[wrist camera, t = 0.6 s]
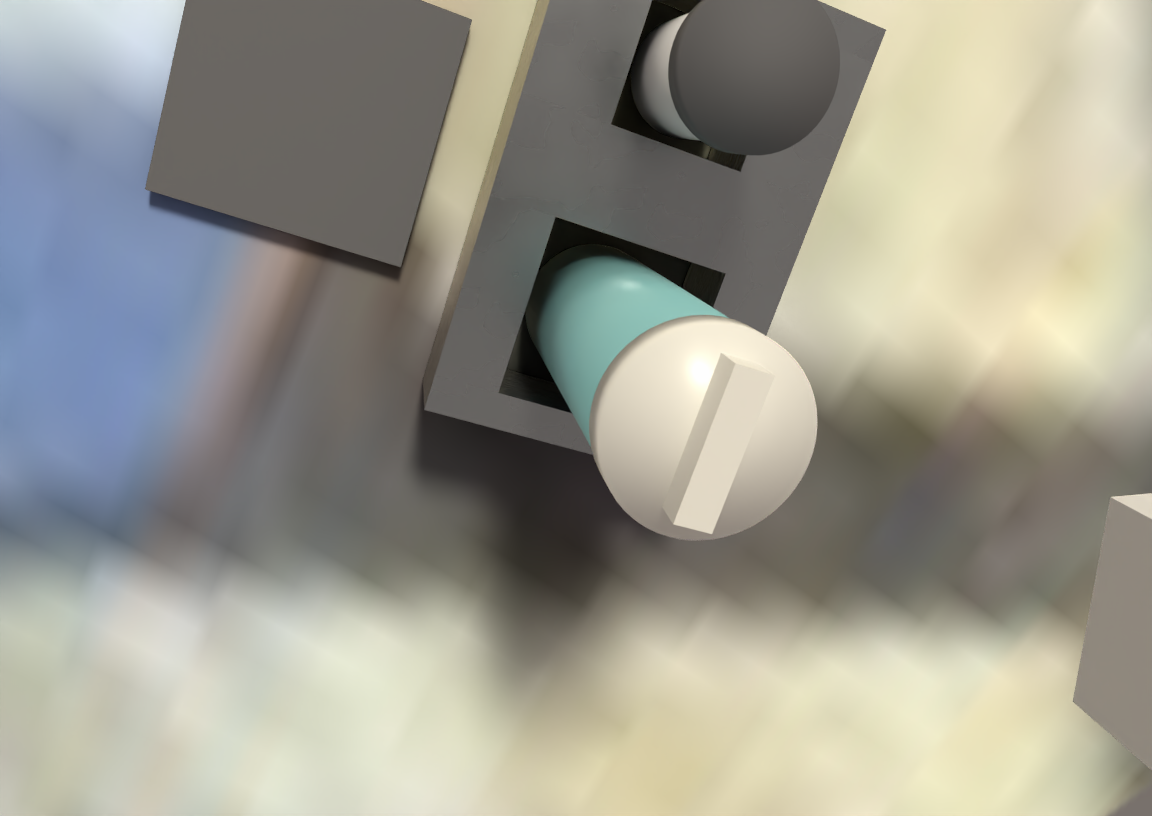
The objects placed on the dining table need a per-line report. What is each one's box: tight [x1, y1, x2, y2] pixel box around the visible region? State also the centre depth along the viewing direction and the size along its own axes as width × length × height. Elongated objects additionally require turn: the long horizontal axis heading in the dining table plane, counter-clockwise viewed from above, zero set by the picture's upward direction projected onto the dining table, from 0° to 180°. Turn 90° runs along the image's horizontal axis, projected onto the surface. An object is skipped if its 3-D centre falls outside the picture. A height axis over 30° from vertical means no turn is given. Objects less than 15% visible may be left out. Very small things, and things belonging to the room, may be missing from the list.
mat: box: [145, 0, 472, 267], centre depth 32 cm, size 9×9×1 cm
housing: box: [423, 0, 886, 455], centre depth 33 cm, size 17×11×4 cm, turn 161°
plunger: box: [631, 0, 840, 155], centre depth 29 cm, size 5×5×7 cm
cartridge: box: [526, 244, 817, 541], centre depth 28 cm, size 5×5×16 cm
